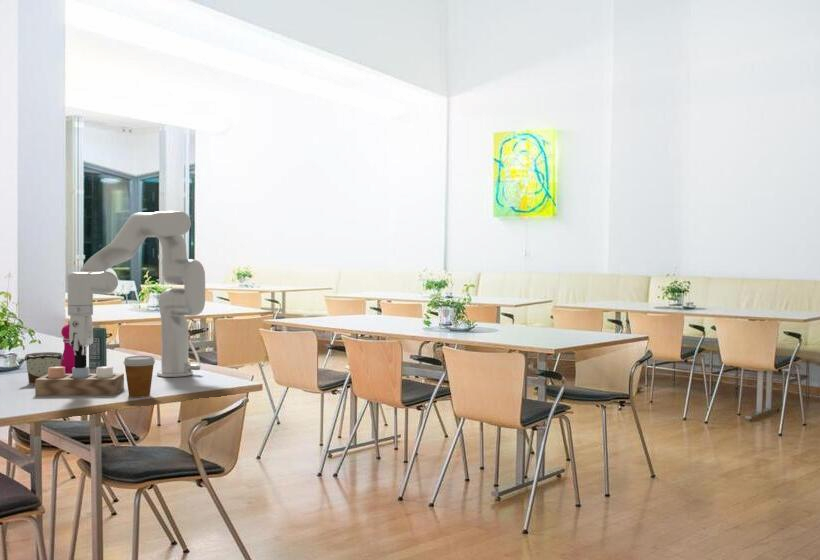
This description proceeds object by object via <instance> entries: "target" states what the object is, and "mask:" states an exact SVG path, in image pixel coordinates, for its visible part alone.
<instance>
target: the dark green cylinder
mask: <svg viewBox="0 0 820 560" xmlns="http://www.w3.org/2000/svg"><path fill="white" fill-rule="evenodd" d="M107 347H108V346H107V328H106V327H93V343H92V344H91V345H88V367H89V369H96V368H97V367H105V366H107V355H108V353H107V351H108V350H107Z"/></svg>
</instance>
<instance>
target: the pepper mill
mask: <svg viewBox="0 0 820 560" xmlns="http://www.w3.org/2000/svg"><path fill="white" fill-rule="evenodd" d="M69 328H70V319H69V320H68V321H67V324H66V325H64V326H63V327H62V328H61V332H60V333H61V335H62V337H63V338H62V342H63V343H64V344H63V345H64V349H63V352H62V355H63V359H64V360H63V359H62V361H61V367H65V374H72V368H73V367H75V355H74V350H73V347H74V346H73V347H72V346H71V345H70V342H69Z"/></svg>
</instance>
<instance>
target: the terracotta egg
mask: <svg viewBox="0 0 820 560" xmlns="http://www.w3.org/2000/svg"><path fill="white" fill-rule="evenodd" d="M64 377H65V367H49V368H48V378H64Z"/></svg>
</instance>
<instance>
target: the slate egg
mask: <svg viewBox="0 0 820 560" xmlns="http://www.w3.org/2000/svg"><path fill="white" fill-rule="evenodd" d="M89 374H90V368H89V366H86V367H85V368H75V367H73V368H72V378H88V377H89Z"/></svg>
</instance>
